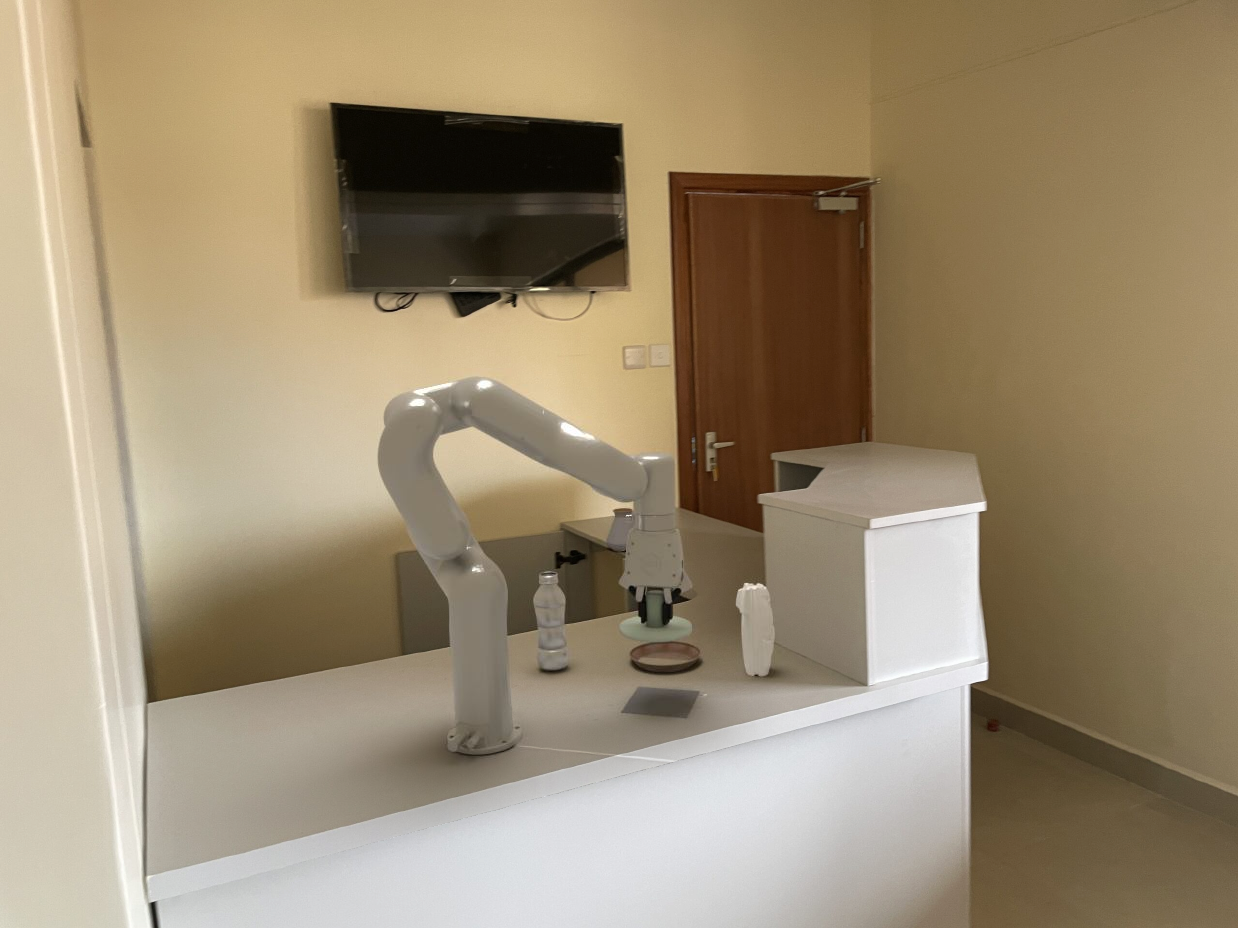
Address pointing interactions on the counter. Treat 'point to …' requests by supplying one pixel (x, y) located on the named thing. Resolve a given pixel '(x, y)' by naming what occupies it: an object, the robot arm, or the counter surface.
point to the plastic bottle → (550, 623)
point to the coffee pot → (619, 530)
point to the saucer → (665, 655)
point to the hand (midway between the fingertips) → (655, 621)
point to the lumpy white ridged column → (756, 628)
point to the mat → (661, 702)
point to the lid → (655, 623)
